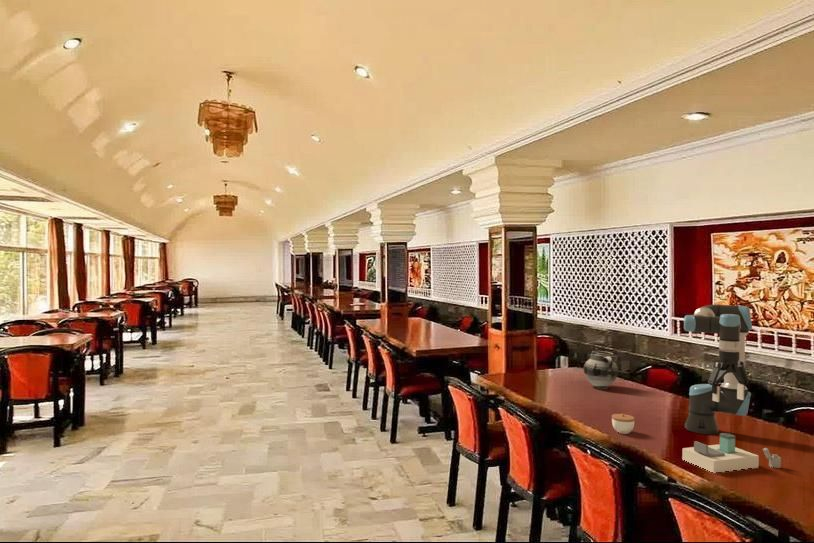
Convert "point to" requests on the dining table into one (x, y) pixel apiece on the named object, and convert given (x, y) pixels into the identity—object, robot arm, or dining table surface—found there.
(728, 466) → the socket
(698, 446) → the shutter
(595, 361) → the ceramic pot
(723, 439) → the plug
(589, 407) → the dining table surface
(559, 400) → the dining table surface
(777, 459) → the lighter
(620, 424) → the lidded jar
